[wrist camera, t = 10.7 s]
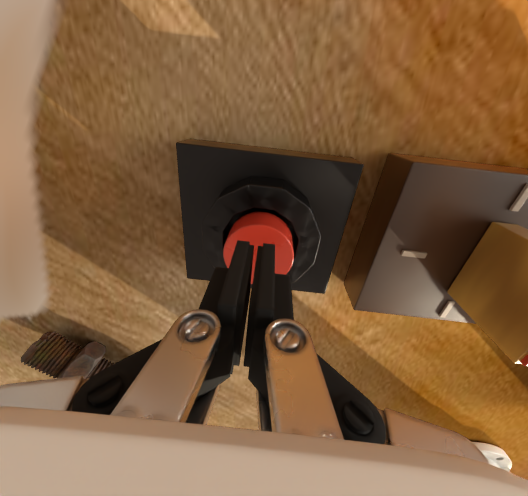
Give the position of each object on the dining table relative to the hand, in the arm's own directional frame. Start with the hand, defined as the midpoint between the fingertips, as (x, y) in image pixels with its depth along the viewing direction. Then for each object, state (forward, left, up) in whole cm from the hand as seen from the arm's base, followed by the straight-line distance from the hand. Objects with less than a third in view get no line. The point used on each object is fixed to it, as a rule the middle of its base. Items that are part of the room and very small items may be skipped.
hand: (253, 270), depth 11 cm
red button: (0, 0, -3) cm, 3 cm away
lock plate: (-13, 0, -7) cm, 15 cm away
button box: (0, 0, -7) cm, 7 cm away
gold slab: (-13, 0, -4) cm, 14 cm away
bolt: (+14, +19, -7) cm, 25 cm away
